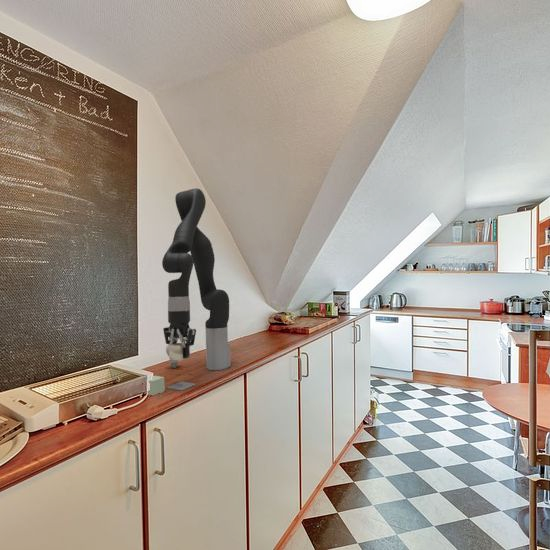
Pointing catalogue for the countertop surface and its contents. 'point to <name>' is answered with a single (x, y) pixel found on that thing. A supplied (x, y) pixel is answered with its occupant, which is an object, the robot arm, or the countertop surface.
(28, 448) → the countertop surface
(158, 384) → the sage block
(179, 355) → the birch block
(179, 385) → the build tile
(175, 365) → the lightbulb
